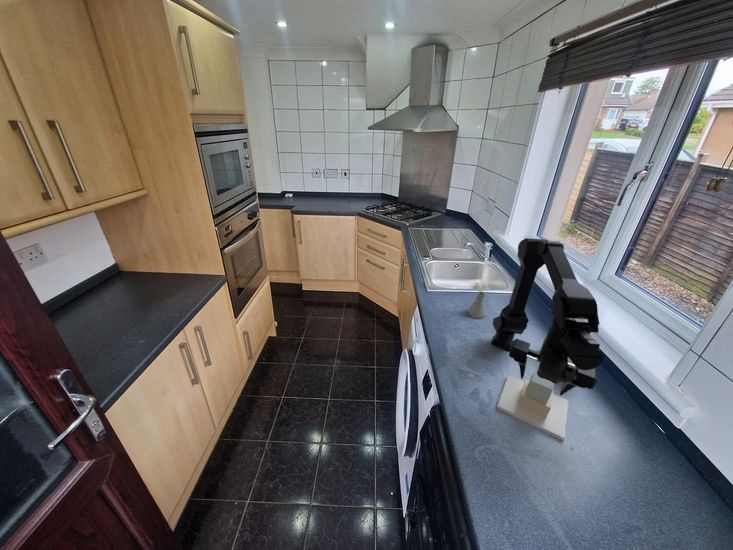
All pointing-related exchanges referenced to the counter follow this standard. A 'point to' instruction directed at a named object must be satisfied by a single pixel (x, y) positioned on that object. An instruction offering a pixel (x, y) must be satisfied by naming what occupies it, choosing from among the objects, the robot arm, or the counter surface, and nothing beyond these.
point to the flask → (478, 306)
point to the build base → (529, 417)
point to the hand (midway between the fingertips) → (540, 385)
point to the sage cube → (539, 388)
